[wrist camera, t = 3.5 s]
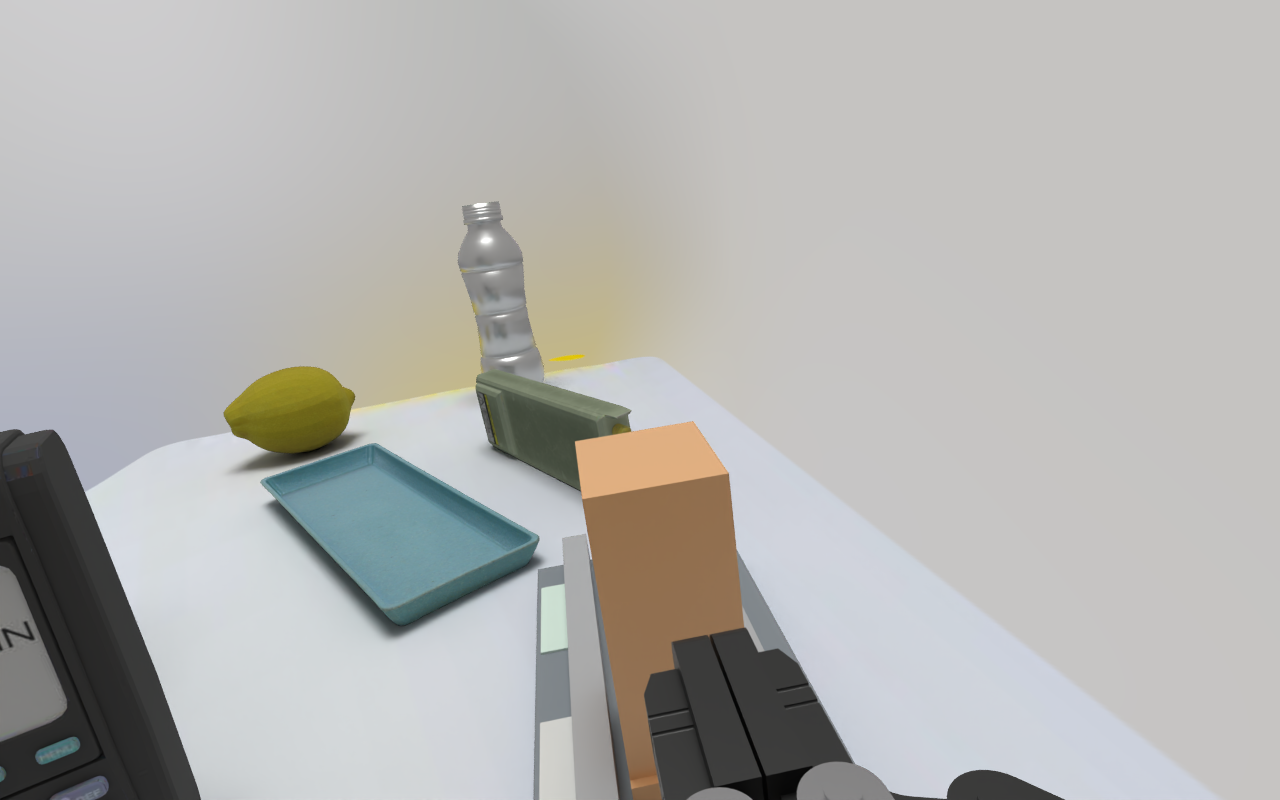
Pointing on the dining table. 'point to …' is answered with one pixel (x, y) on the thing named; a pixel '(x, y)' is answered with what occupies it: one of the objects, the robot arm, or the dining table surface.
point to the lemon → (291, 410)
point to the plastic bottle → (498, 294)
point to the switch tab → (657, 562)
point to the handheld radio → (544, 421)
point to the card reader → (72, 648)
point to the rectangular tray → (401, 530)
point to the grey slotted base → (596, 681)
